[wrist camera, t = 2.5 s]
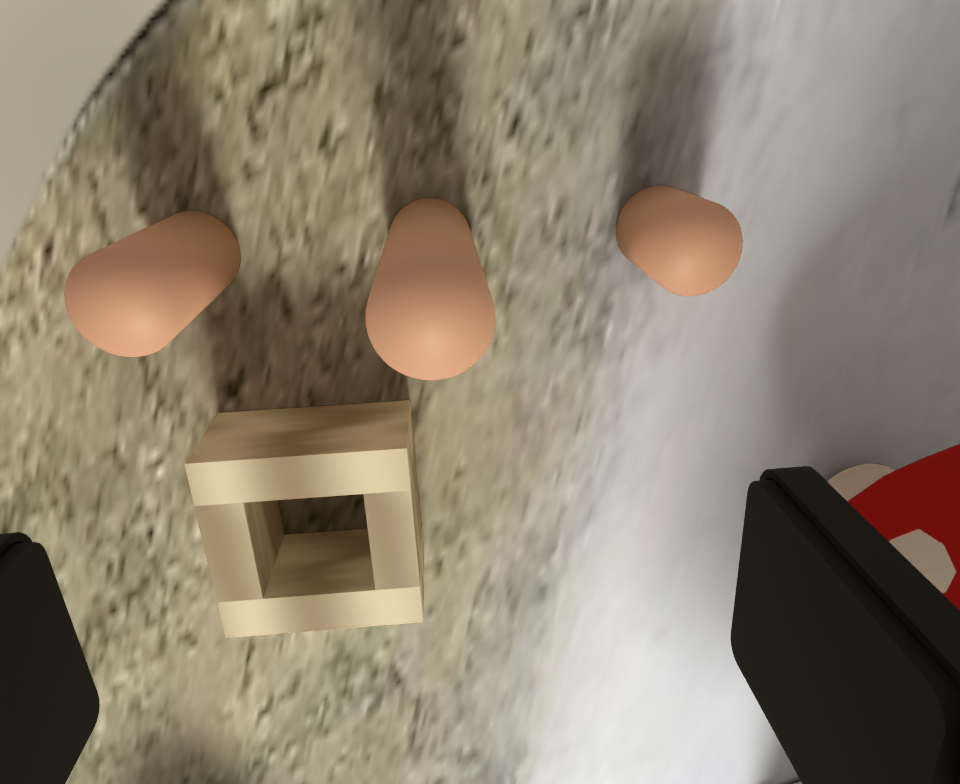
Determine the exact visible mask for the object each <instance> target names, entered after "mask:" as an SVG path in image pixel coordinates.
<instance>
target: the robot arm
mask: <svg viewBox="0 0 960 784" xmlns="http://www.w3.org/2000/svg"><path fill="white" fill-rule="evenodd" d="M731 646H732V650H733V654H734V657H735V660H736V662H737V665H738V666H739V668H740V670H741V672H742V674H743V676H744V677H745V679H746V681H747V683H748V685H749V687H750V688H751V690H752V692H753V694H754V696H755V698H756V699H757V701H758V703H759V705H760V707H761V709H762V710H763V712H764V714H765V716H766V718H767V720H768V721H769V723H770V725H771V727H772V729H773V731H774V732H775V734H776V736H777V738H778V740H779V742H780V743H781V745H782V747H783V749H784V751H785V753H786V754H787V756H788V758H789V760H790V762H791V764H792V765H793V767H794V769H795V771H796V773H797V775H798V776H799V778H800V780H801V781H800V782H796V783H794V784H960V610H959V609H958V608H957V607H956V606H955V605H954V604H953V603H952V602H951V601H950V600H949V599H948V598H946V597H945V596H944V595H943V594H942V593H941V592H940V591H939V590H938V589H937V588H936V587H935V586H934V585H933V584H932V583H931V582H930V581H929V580H928V579H927V578H926V577H925V576H924V575H923V574H922V573H921V572H920V571H919V570H918V569H917V568H916V567H915V566H914V565H912V564H911V563H910V562H909V561H908V560H907V559H906V558H905V557H904V556H903V555H902V554H901V553H900V552H899V551H898V550H897V549H896V548H895V547H894V546H893V545H892V544H891V543H890V542H889V541H888V540H887V539H886V538H885V537H884V536H883V535H882V534H881V533H880V532H878V531H877V530H876V529H875V528H874V527H873V526H872V525H871V524H870V523H869V522H868V521H867V520H866V519H865V518H864V517H863V516H862V515H861V514H860V513H859V512H858V511H857V510H856V509H855V508H854V507H853V506H852V505H851V504H850V503H849V502H848V501H847V500H846V499H845V498H843V497H842V496H841V495H840V494H839V493H838V492H837V491H836V490H835V489H834V488H833V487H832V486H831V485H830V484H829V483H828V482H827V481H826V480H825V479H824V478H823V477H822V476H821V475H820V474H819V473H818V472H817V471H816V470H814V469H813V468H811V467H808V466H803V467H791V468H779V469H767V470H765V471H764V472H763V473H762V475H761V477H760V481H753V482H752V483H751V484H750V486H749V488H748V493H747V502H746V510H745V519H744V527H743V536H742V544H741V553H740V561H739V569H738V578H737V586H736V595H735V603H734V612H733V620H732V629H731ZM98 714H99V696H98V693H97V690H96V687H95V684H94V682H93V679H92V676H91V673H90V671H89V668H88V665H87V662H86V660H85V657H84V654H83V651H82V649H81V646H80V643H79V640H78V638H77V635H76V632H75V629H74V627H73V624H72V621H71V618H70V616H69V613H68V610H67V607H66V605H65V602H64V599H63V596H62V594H61V591H60V588H59V585H58V583H57V580H56V577H55V574H54V572H53V569H52V566H51V563H50V561H49V558H48V555H47V553H46V551H45V549H44V547H43V546H42V545H41V544H40V543H36V542H32V541H31V539H30V538H29V537H28V536H27V535H26V534H23V533H20V532H17V533H5V534H0V784H65V783H66V781H67V779H68V777H69V775H70V773H71V771H72V769H73V767H74V765H75V764H76V762H77V760H78V758H79V756H80V754H81V752H82V750H83V748H84V746H85V744H86V742H87V740H88V738H89V736H90V735H91V733H92V731H93V729H94V727H95V724H96V722H97V718H98Z"/></svg>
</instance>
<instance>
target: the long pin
mask: <svg viewBox="0 0 960 784" xmlns="http://www.w3.org/2000/svg"><path fill="white" fill-rule="evenodd" d="M494 327H495V308H494V304H493V300H492V297H491V294H490V290H489V287H488V284H487V281H486V278H485V275H484V272H483V268H482V265H481V262H480V259H479V256H478V253H477V250H476V246H475V243H474V240H473V237H472V234H471V231H470V228H469V225H468V222H467V220H466V219H465V217H464V216H463V214H462V213H461V212H460V211H459V210H458V209H457V208H456V207H455V206H453V205H452V204H450V203H449V202H446V201H444V200H441V199H437V198H422V199H418V200H415V201H412V202H410V203H409V204H407V205H406V206H404V207H403V208H402V209H401V210H400V211H399V212H398V213H397V215H396V216H395V218H394V219H393V221H392V224H391V226H390V230H389V233H388V236H387V239H386V243H385V246H384V249H383V253H382V256H381V259H380V262H379V266H378V269H377V272H376V276H375V279H374V282H373V285H372V289H371V292H370V295H369V299H368V303H367V307H366V328H367V333H368V336H369V339H370V341H371V343H372V345H373V347H374V349H375V350H376V352H377V354H378V355H379V356H380V357H381V358H382V359H383V361H385V362H386V363H387V364H388V365H389V366H390V367H392V368H393V369H395V370H396V371H398V372H400V373H402V374H404V375H407V376H409V377H412V378H416V379H422V380H439V379H445V378H449V377H453V376H455V375H458V374H460V373H462V372H464V371H465V370H467V369H468V368H470V367H471V366H473V365H474V364H475V363H476V362H477V361H478V360H479V359H480V358H481V356H482V355H483V354H484V353H485V351H486V349H487V348H488V346H489V344H490V342H491V339H492V336H493V333H494Z"/></svg>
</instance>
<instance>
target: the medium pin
mask: <svg viewBox="0 0 960 784" xmlns="http://www.w3.org/2000/svg"><path fill="white" fill-rule="evenodd" d="M240 261H241V256H240V249H239V245H238V243H237V240H236V238H235V236H234V235H233V233H232V232H231V230H230V229H229V228H228V227H227V226H226V225H225V224H224V223H223V222H222V221H220V220H219V219H217V218H216V217H214V216H212V215H209V214H207V213H204V212H199V211H183V212H179V213H176V214H174V215H172V216H170V217H168V218H165V219H163V220H161V221H159V222H157V223H155V224H153V225H151V226H149V227H146V228H144V229H142V230H140V231H138V232H136V233H134V234H132V235H129V236H127V237H125V238H123V239H121V240H119V241H117V242H115V243H113V244H110V245H108V246H106V247H104V248H102V249H100V250H98V251H96V252H93V253H91V254H89V255H87V256H86V257H84V258H82V259H81V260H80V261H79V262H78V263H77V264H76V265H75V266H74V267H73V268H72V270H71V272H70V273H69V275H68V278H67V280H66V284H65V292H64V296H65V304H66V308H67V311H68V314H69V316H70V318H71V320H72V322H73V324H74V325H75V327H76V328H77V329H78V331H79V332H80V333H81V334H82V335H83V336H84V337H85V338H86V339H87V340H88V341H90V342H91V343H92V344H94V345H95V346H97V347H98V348H100V349H102V350H104V351H106V352H109V353H112V354H115V355H120V356H126V357H139V356H145V355H149V354H152V353H154V352H157V351H158V350H160V349H162V348H163V347H164V346H166V345H167V344H168V343H169V342H170V341H171V340H172V339H173V338H174V337H175V336H176V335H177V334H178V333H179V332H180V331H182V330H183V329H184V328H185V327H186V326H187V325H188V324H189V323H190V322H191V321H192V320H193V319H194V318H195V317H196V316H197V315H198V314H199V313H200V312H201V311H202V310H203V309H204V308H206V307H207V306H208V305H209V304H210V303H211V302H212V301H213V300H214V299H215V298H216V297H217V296H218V295H219V294H220V293H221V292H222V291H223V290H224V289H225V288H226V287H227V286H228V285H230V283H231V282H232V281H233V280H234V279H235V277H236V275H237V273H238V271H239V267H240Z"/></svg>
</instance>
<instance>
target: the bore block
mask: <svg viewBox="0 0 960 784" xmlns="http://www.w3.org/2000/svg"><path fill="white" fill-rule="evenodd" d="M185 468H186V472H187V477H188V481H189V485H190V489H191V494H192V498H193V502H194V506H195V510H196V515H197V519H198V523H199V527H200V532H201V536H202V540H203V544H204V548H205V553H206V557H207V561H208V565H209V570H210V574H211V578H212V582H213V586H214V591H215V595H216V599H217V603H218V608H219V612H220V616H221V620H222V624H223V629H224V633H225V637H226V638H231V637H243V636H255V635H268V634H280V633H292V632H305V631H317V630H329V629H342V628H354V627H367V626H379V625H391V624H404V623H416V622H423V614H424V549H423V538H422V527H421V516H420V505H419V494H418V483H417V472H416V461H415V450H414V439H413V428H412V417H411V406H410V400H405V401H390V402H375V403H360V404H345V405H330V406H315V407H300V408H285V409H270V410H255V411H240V412H225V413H218V415H217V416H216V418H215V419H214V421H213V422H212V424H211V425H210V427H209V428H208V430H207V431H206V433H205V434H204V436H203V437H202V439H201V440H200V442H199V443H198V445H197V446H196V447H195V449H194V450H193V452H192V453H191V455H190V456H189V458H188V459H187V461H186V462H185ZM355 494H363V496H364V503H365V511H366V519H367V527H368V528H367V529H354V530H340V531H327V532H313V533H300V534H287V535H284V530H283V525H282V519H281V514H280V508H279V503H278V500H286V499H300V498H314V497H328V496H342V495H355Z"/></svg>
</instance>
